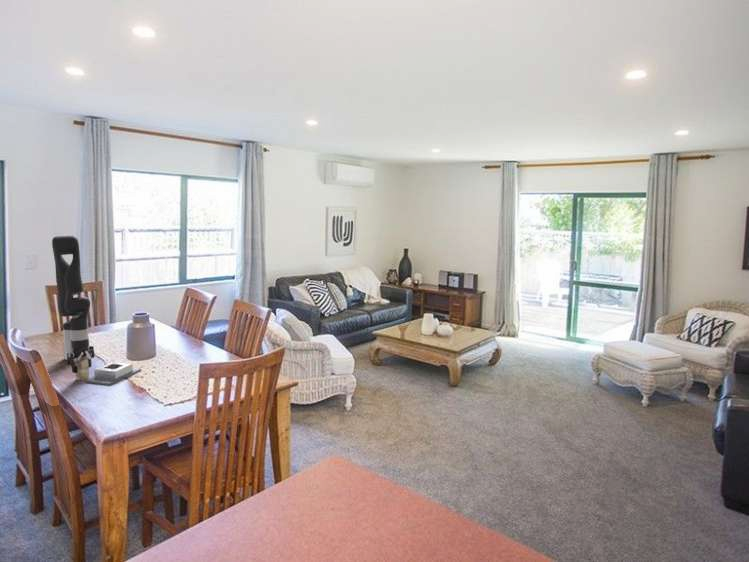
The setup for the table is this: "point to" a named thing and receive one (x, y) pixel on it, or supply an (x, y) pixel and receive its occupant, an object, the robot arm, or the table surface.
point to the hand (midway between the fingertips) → (82, 370)
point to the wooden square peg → (82, 369)
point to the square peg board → (112, 373)
